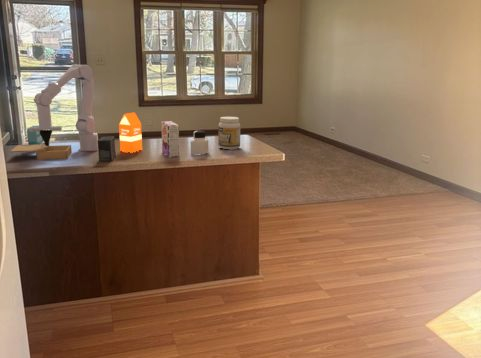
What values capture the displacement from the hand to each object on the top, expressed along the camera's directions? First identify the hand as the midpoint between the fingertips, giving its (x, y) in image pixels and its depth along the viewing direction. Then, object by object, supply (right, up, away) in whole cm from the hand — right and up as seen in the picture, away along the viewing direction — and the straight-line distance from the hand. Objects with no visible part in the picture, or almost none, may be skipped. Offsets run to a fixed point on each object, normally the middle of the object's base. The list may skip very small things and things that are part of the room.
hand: (47, 145), depth 223 cm
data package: (-13, -1, +17) cm, 21 cm away
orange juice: (+37, -2, +17) cm, 41 cm away
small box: (+30, -7, -2) cm, 31 cm away
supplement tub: (+89, +1, +28) cm, 94 cm away
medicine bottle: (+74, -3, +13) cm, 75 cm away
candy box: (+59, -4, +10) cm, 60 cm away
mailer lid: (-8, -2, -1) cm, 8 cm away
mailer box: (+3, -5, +2) cm, 6 cm away
